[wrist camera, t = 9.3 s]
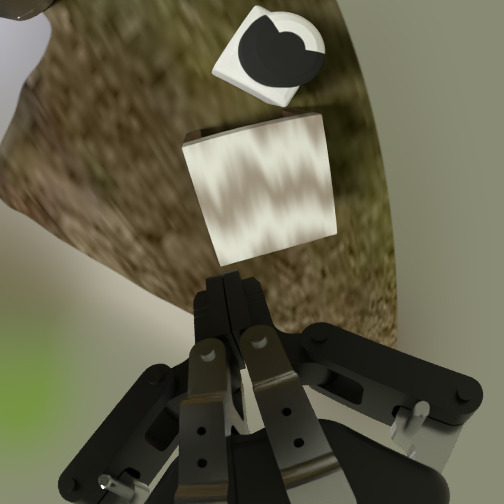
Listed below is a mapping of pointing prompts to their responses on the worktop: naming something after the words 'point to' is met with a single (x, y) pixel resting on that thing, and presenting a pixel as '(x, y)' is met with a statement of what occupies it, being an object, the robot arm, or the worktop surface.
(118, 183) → the worktop surface
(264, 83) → the medicine bottle
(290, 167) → the footstool
